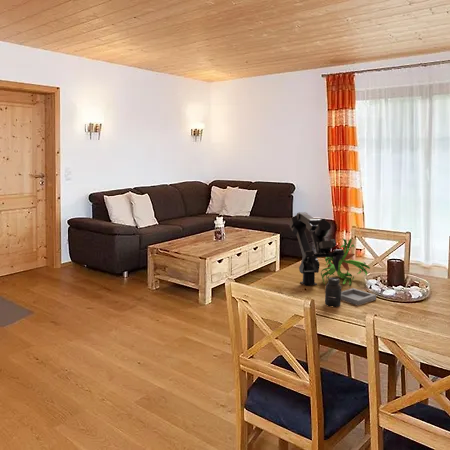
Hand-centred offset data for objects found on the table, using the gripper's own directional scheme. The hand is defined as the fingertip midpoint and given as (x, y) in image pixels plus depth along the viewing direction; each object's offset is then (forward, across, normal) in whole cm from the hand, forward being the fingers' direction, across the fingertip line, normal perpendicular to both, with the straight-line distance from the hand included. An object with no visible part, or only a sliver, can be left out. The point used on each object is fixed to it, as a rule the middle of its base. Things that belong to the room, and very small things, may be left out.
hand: (327, 271), depth 204 cm
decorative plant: (-8, +20, +29) cm, 36 cm away
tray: (+11, +13, +7) cm, 18 cm away
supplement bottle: (+15, 0, +3) cm, 15 cm away
